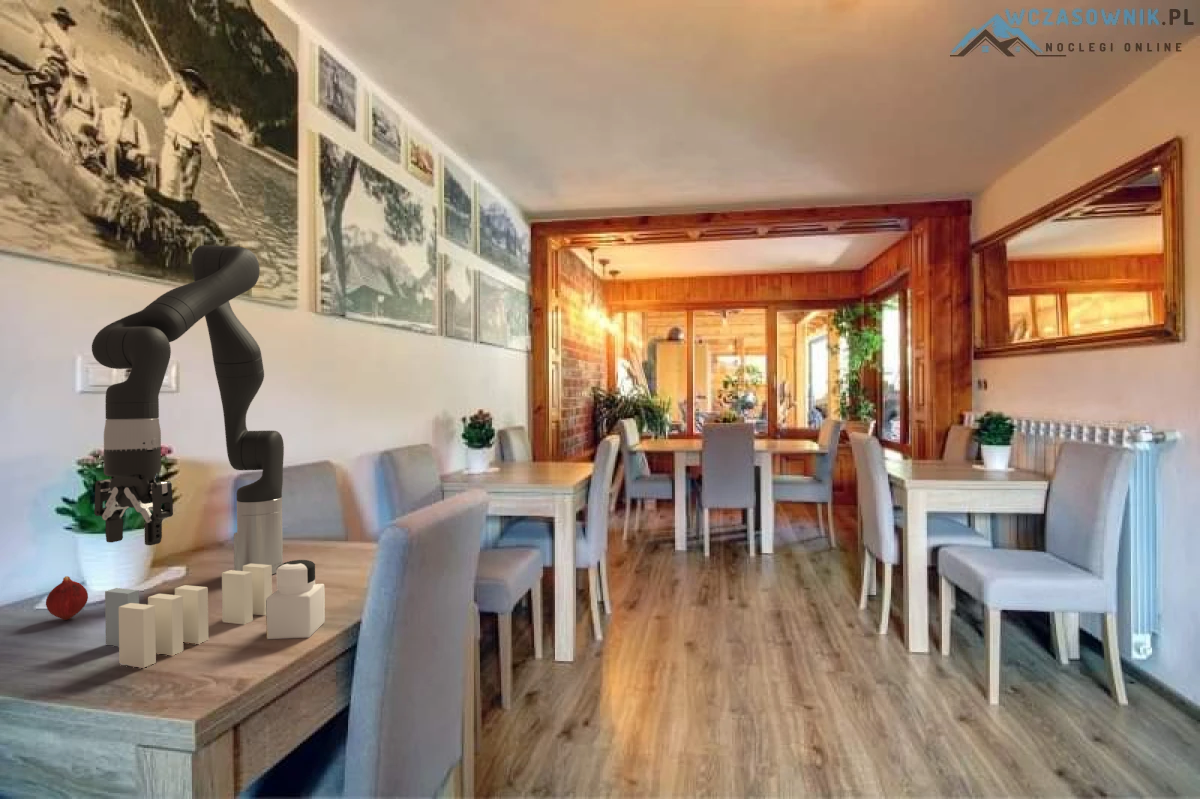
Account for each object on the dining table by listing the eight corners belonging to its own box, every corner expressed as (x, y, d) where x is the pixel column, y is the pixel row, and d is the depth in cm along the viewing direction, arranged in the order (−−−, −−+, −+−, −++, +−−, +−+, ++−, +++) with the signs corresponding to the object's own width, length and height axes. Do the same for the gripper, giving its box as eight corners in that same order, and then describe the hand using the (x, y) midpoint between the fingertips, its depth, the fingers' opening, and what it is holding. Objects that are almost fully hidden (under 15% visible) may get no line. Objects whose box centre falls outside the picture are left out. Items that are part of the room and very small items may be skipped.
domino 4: (175, 641, 100) (174, 588, 100) (185, 637, 102) (184, 585, 101) (198, 644, 98) (197, 590, 98) (208, 640, 100) (207, 587, 100)
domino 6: (243, 613, 113) (242, 566, 113) (251, 609, 115) (250, 563, 114) (264, 615, 111) (264, 567, 111) (272, 612, 113) (271, 565, 113)
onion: (95, 615, 112) (95, 573, 112) (59, 627, 107) (58, 582, 107) (75, 612, 114) (74, 570, 114) (38, 623, 109) (38, 579, 109)
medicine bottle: (284, 624, 107) (283, 557, 107) (325, 622, 108) (324, 556, 108) (265, 640, 100) (264, 569, 100) (309, 638, 101) (308, 567, 101)
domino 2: (119, 665, 91) (118, 606, 91) (131, 660, 93) (130, 602, 93) (144, 668, 90) (143, 609, 90) (155, 663, 92) (155, 605, 91)
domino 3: (148, 653, 95) (147, 597, 95) (159, 648, 97) (158, 593, 97) (172, 656, 94) (171, 599, 94) (183, 651, 96) (182, 595, 96)
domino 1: (105, 645, 99) (104, 591, 99) (117, 641, 100) (116, 587, 100) (128, 648, 97) (127, 593, 97) (139, 644, 99) (138, 590, 99)
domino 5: (222, 622, 108) (221, 572, 108) (231, 618, 110) (230, 570, 110) (244, 624, 107) (243, 574, 107) (252, 620, 109) (252, 571, 109)
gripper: (76, 447, 98) (77, 546, 98) (142, 448, 94) (143, 550, 94) (124, 444, 105) (125, 536, 105) (187, 444, 101) (187, 540, 101)
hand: (133, 542), depth 99 cm, fingers open, 8 cm apart
